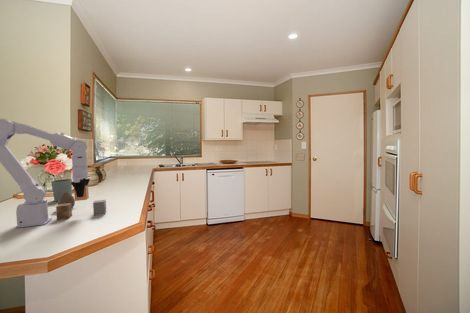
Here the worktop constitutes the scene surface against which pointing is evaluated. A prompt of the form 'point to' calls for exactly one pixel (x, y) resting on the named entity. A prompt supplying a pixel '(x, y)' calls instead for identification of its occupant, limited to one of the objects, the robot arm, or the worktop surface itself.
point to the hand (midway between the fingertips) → (81, 195)
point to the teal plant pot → (61, 187)
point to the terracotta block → (85, 196)
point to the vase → (66, 199)
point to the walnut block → (64, 211)
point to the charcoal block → (99, 207)
